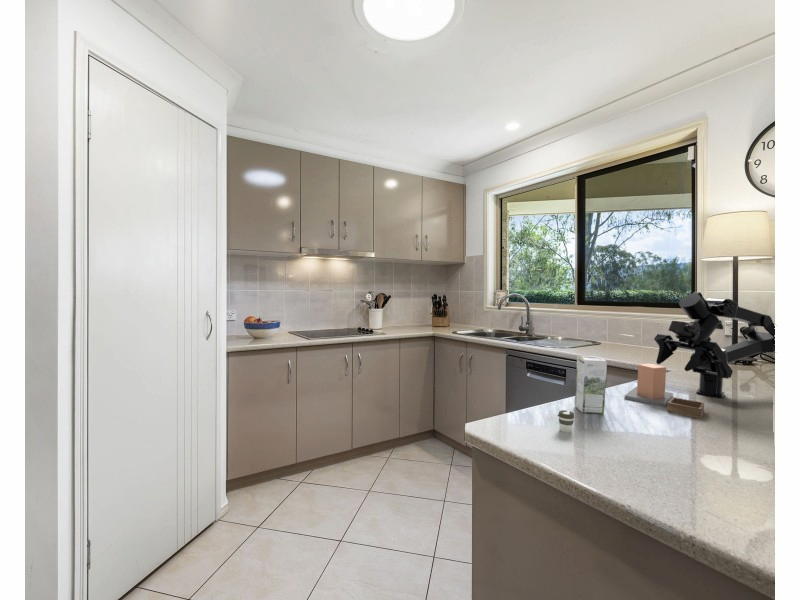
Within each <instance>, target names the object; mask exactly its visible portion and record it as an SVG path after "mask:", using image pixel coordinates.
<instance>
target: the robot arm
mask: <svg viewBox="0 0 800 600" xmlns="http://www.w3.org/2000/svg"><path fill="white" fill-rule="evenodd" d="M678 305H679V306H680V308H681V309H682V310H683V312H684V313H685V315H686V316H687V317H688V318H689V319H690V320H693V321H689V322H685V321H681V320H680V321H679V320H671V323H670V325H669V328H668V329H667V330H668V331H669V332H672V333H674V334H675V335H674V336H675V338H676V339H677V340H676V339H673V337H672V336H671V335H670V334H663V333H656V335H655V336H654V338H653V340H654V341H655V343H656V344H657V345H658V354H657V358H656V361H655V362H656V365H661V364H662V363H664V362H665V361H666V360H668V359H669V358H670V357H672V356H673V355H674V354H675V353H674V352H676V351H677V349H685V350H687V351H691V352H692V351H693V352H692V354H691V355H690V357H689V361H687V363H686V365H685V366H684V370H685V371H686V372H690V371H692V372H693V373H697V374H699V385H698V388H697V390H696V392H695V393H696V394H697V395H704V396H709V397H710V396H711V397H715V398H722V399H723V398H724V396H725V392H724V391H723V385H724V384H723V383H724V382H723V381H724V379H729V378H732V375H733V372H734V371H733V369H732V368H731V367H730V365H729V363H732V362H735V361H738V360H741V359H744V358H747V357H750V356H754V355H756V354H760V353H769V354H771V353H775V352H774V351H775V345H774V344H775V343H774V342H775V341H774V335H775V329H774V328H775V326H774V324H775V323H774V321H773V319H772V317H771V316H770V315H768V314H763V313H760V312H756V311H754V310H751V309H748V308H745V307H741V306H739V303H738V302H737V301H734V300H732V299H731V298H715V297H708V298H706V299H705V297H704V295H703V294H702V293H701V292H699V291H693V293H692V294H688V295H686V296H684V297H683V298H681V299H679V302H678ZM718 317H720V318H728V319H731V320H735V321H738V322H741V323H745V324H747V325H748V328H747V330H746V332H745V334H746V337H747V338H746V339H745V340H743V341H741V342H738V343H734V344H730V345H727V346H725V347H722V348H721V347H720V346H719V344H718V343H717V341H716V342H715V341H712V338H711V336H712V334H713V333H714V332H715V330H724V325H723V322H722V320H720V318H718ZM756 327H761V328H762V327H763V328H764V330H765V331H767V332H761V331H756Z"/></svg>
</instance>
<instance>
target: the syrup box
mask: <svg viewBox="0 0 800 600" xmlns="http://www.w3.org/2000/svg"><path fill="white" fill-rule="evenodd" d="M607 366H608V362H607V360H606V359H604V358H603V357H601V356H591V355H590V356H587V355H585V356H582V355H577V357H576V371H575V373H576V375H575V376H576V377H575V395H574V396H575V397H574V406H575V407H576V408H577V410H579V412H581V414H582V413H585V414H600V415H604V414H605V406H606V405H605V404H606V403H605V402H606V387H607V386H606V384H607V369H608V367H607Z"/></svg>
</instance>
